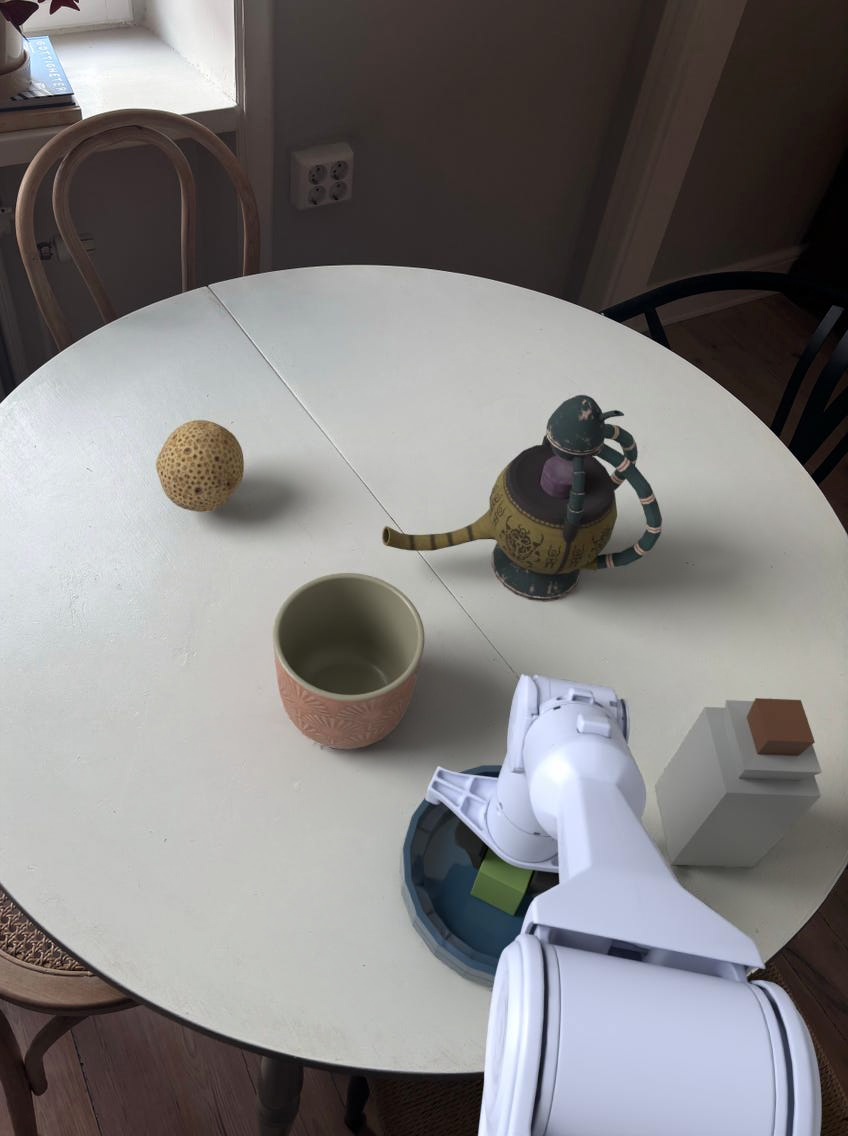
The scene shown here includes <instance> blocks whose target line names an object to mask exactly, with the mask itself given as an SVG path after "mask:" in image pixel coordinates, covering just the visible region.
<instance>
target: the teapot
mask: <svg viewBox="0 0 848 1136" xmlns="http://www.w3.org/2000/svg"><path fill="white" fill-rule="evenodd" d="M624 416H625V414H624V412H623V411H620V410H618V409H614V410H609V411H605V412H603V411H602V408H601V407H600V405H599V404H598V403H597V401H596V400H595V399H594V398H593V397H591V396H589V395H586V394H578V395H575V396H573V397H571V398H568V399H567V400H564V401H563V402H562V403H560V405H559V406H558V407H557V408H556V409H555V410H554V411H553V413H552V414H551V416H550V417H549V418H548V420H547V422H546V427H545V435H544V436H543V439H542V443H541V444H535V445H533V446H531V447H528V448H526V449H524V450H522V451H521V452H520V453H519V454H518V455H517V456H515V457H514V458H513V459H512V460H511V461H510V462H509V463H508V464H507V465H506V466H505V467H504V468H503V469H502V470H501V472H500V473H499V475H497V478H496V480H495V482H494V485H493V486H492V490H491V491H490V496H489V509H488V510H487V511H486V512H485V513H484V514H482V516H480V517H479V518H478V519H477V520H475V521H474V522H473V523H470V524H468V525H466V526H464V527H461V528H459V529H456V530H454V531H453V530H452V531H448V532H444V533H429V534H427V533H426V534H407V533H404V532H403V533H402V532H399V531H398V530H396V529H394V528H392V527H390V526H388V525H387V526H384V528H383V530H382V532H381V533H382V534H381V535H382V536H381V539H382V543H383V545H384V546H386V547H390V548H394V549H397V550H398V549H399V550H403V551H410V552H411V551H412V552H414V551H415V552H428V551H430V552H431V551H438V550H442V549H446V548H450V547H455V546H460V545H463V544H467V543H470V542H476V541H481V540H493V541H496V543H495V546H494V548H493V550H492V553H491V568H492V570H493V573H494V576H495V578H496V579H497V580H498V581H499V582H500V584H501V585H502V586H503V588H505V589H507V590H508V591H510V592H511V593H512V594H514V595H515V596H518V597H521V598H523V599H526V600H529V601H538V602H549V601H554V600H558V599H560V598H563V597H564V596H567V595H569V594H570V593H571V592H572V590H573V589H575V587H576V586H577V584H578V581H579V579H580V575H581V571H582V570H587V571H588V570H589V571H598V570H602V569H609V568H617V567H624V566H628V565H629V564H632V563H634V562H636V561H637V560H640V559H641V558H643V557H644V556H645V555H646V554H648V552H649V551H651V550H652V549H653V547H654V546H655V545H656V543H657V542H658V540H659V538H660V537H661V534H662V526H663V525H662V524H663V517H662V513H661V509H660V505H659V503H658V500H657V497H656V495H655V492H654V491H653V488H652V486H651V483H650V482H649V481H648V479H646V478H645V476H644V474H643V473H641V471H640V470H639V469H638V467H637V466H636V464H637V460H638V456H639V455H638V454H639V452H638V445H637V442H636V441H635V438H634V436H633V435H632V434H631V433H630V432H629V431H627V430H626V429H624V428H623V427H622V426H619V425H616V424H612V423H605V422H606V420H608V419H611V418H616V417H624ZM605 439H606V440H612V441H614V442H616V443H618V444H619V445H620V446H619V447H621V449H622V453H621V452H620V451H618V450H616V449H614V447H612V446H609V445H607V444H606V443H605ZM596 457H597V458H599V459H601V460H602V461H604V462H606V463H608V464H609V465H611V466H612V467H613V468H614V469H615V470H614V471H613V472H612V473H611V474H610V473H609V471H608V469H607V468H606V467H605V465H603V464H602V463H601V462H600V461H599V460H598V459H597V458H596ZM625 480H626V481H627V482H628V484H629V485H630V486H631V487H632V488H633V489H634V491H635V493H636V495H637V498H638V499H639V502H640V505H641V507H642V509H643V512H644V516H645V520H646V521H645V522H646V523H645V531H644V533H643V535H642V536H641V537H640V538H639V539H638V540H637V541H635V543H634V544H632V545H631V546H629V547H627V548H625V549H624V550H621V551H616V552H611V553H610V552H609V553H603V554H601V552H602V551H603V550H604V548H605V547H606V546H607V544H608V543H609V541H610V540H611V538H612V534H613V531H614V528H615V525H616V522H617V518H618V506H617V499H616V492H615V491H616V490H617V489H618V488H620V486H622V485H623V483H624V482H625Z"/></svg>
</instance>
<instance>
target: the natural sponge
mask: <svg viewBox="0 0 848 1136" xmlns="http://www.w3.org/2000/svg"><path fill="white" fill-rule="evenodd" d="M155 468H156V472H157V475H158V479H159V482H160V485H161V488H162V490H163V492H164V494H165V496H166V497H167V498H168V499H169V500H170V501H171V502H172V503H173V504H174V505H176V506H177V507H180V508H182V509H184V510H188V511H191V512H199V513H207V512H212V511H214V510H217V509H218V508H220V507H222V506H223V505H224V504H225V503H226V502H227V501H228V500H229V499H230V498H231V497H232V495H234V493H235V492H236V490H237V489H238V488H239V487H240V485H241V483H242V480H243V479H244V478H243V477H244V472H245V471H244V470H245V460H244V453H243V448H242V446H241V444H240V442H239V440H238V438H237V437H236V436H235V435H234V433H232V432H231V431H230V430H229V429H227V428H226V427H224V426H223V425H220V424H218V423H216V422H213V421H211V420H210V421H209V420H203V419H197V420H190V421H187V422H185V423H183V424H181V425H180V426H178V427H176V428H175V429H174V430H173V431H172V432H171V433H170V435H169V436H168V437H167V438H166V440H165V442H164V444H163V445H162V448H161V450H160V452H159V453H158V456H157V458H156V461H155Z"/></svg>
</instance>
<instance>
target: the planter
mask: <svg viewBox="0 0 848 1136" xmlns="http://www.w3.org/2000/svg"><path fill="white" fill-rule="evenodd" d="M422 620H423V619H422V618H421V616H420V613H419V611H418V609H417V608H416V606H415V604H414V603H413V602H412V601H411V599H410V598H409V597H408V596H406V594H404V593H403V591H401V590H400V589H399V588H397V587H396V586H394V585H392V584H391V583H389V582H387V581H385V580H383V579H381V578H378V577H376V576H372V575H368V574H363V573H355V572H339V573H332V574H331V573H330V574H327V575H322V576H320V577H316V578H314V579H312V580H310V581H308V582H306V583H305V584H302V586H300V587H298V588H297V589H296V590H295V591H293V592H292V593H291V594H290V595H289V596H288V597H287V599H286V600H285V601H284V602H283V604H281V607H280V608H279V610H278V612H277V614H276V617H275V620H274V624H273V631H272V643H273V652H274V662H275V663H274V664H275V671H276V672H275V673H276V678H277V685H278V691H279V695H280V698H281V702H282V706H283V709H284V710H285V712H286V714H287V716H288V718H289V719H290V721H291V722H292V723H293V725H294V727H296V729H297V730H298V731H300V732H301V734H303V735H304V736H305V737H307V738H308V739H310V740H311V741H313V742H315V743H317V744H320V745H322V746H325V747H328V748H332V749H338V750H352V749H353V750H354V749H359V748H363V747H366V746H367V747H368V746H369V745H372V744H375V743H377V742H378V741H380V740H382V739H383V738H385V737H386V736H388V735H389V734H390V733H391V732H392V731H393V730H394V729H395V728H396V727H397V725H398V724H399V723H400V721H401V720H402V719H403V717H404V716H405V713H406V711H407V709H408V707H409V705H410V702H411V699H412V696H413V694H414V691H415V687H416V682H417V680H418V675H419V671H420V665H421V662H422V657H423V654H424V649H425V643H426V642H425V641H426V639H425V638H426V637H425V629H424V623H423V621H422Z"/></svg>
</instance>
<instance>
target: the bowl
mask: <svg viewBox="0 0 848 1136" xmlns="http://www.w3.org/2000/svg"><path fill="white" fill-rule="evenodd" d="M502 766H503V764H502V765H497V764H495V765H494V764H482V765H478V766H475V767H472V768H469V769H464V770H461V771H459V772H458V773H462V774H470V775H478V776H486V777H494V778H498V777H499V774H500V771H501V769H502ZM425 798H426V796H425V797H424V798H423V799H422V801H421V802H420V804H419V805H418V806H417V808H416V809H415V811H414V812H413V814H412V815H411V817H410V821H409V824H408V828H407V832H406V835H405V838H404V842H403V846H402V849H401V855H400V861H399V866H400V867H399V869H400V870H399V871H400V893H401V897H402V900H403V903H404V905H405V908H406V911H407V913H408V917H409V920H410V923H411V925H412V927H413V929H414V930H415V932H416V933H417V934H418V936H419V937H420V938H421V940H422V941H423V943H424V944H425V945H426V947H427V948H428V949H429V951H430V952H431V954H432V955H433V956H434V957H435V958H436V959H438V960H439V962H441V963H442V964H444V965H446V966H447V967H448V968H450V970H452V971H453V972H454V973H456V974H457V975H458V976H460V977H461V978H463V979H465V980H468V981H471V982H473V983H476V984H479V985H482V986H484V987H487V988H492V989H493V986H494V980H495V975H496V971H497V967H498V963H499V959H500V956H501V954H502V952H503V950H504V949H505V948H506V947H507V946H508V945H510V944H511V943H512V942H514V940H515V939H516V937H517V936H518V935H520V933H521V930H522V926H523V922H524V919H525V916H526V913H527V911H528V908H529V906H530V904H531V902H532V901H533V900H534V898H535V897H537V896H538V895H540V894H542V893H544V892H539V893H536V894H534V895H531V896H529V895H527V894H524V896H523V898H522V900H521V902H520V904H519V906H518V908H517V910H516V912H515V914H514V916H513V915H511V914H509V913H507V912H505V911H503V910H501V909H499V908H497V907H495V906H493V905H491V904H489V903H487V902H485V901H483V900H481V899H479V898H477V897H475V896H473V895H471V891H472V888H473V886H474V883H475V880H476V878H477V875H478V872H479V870H477V869H475V868H473V866H472V862H471V859H470V857H469V855H468V854H467V852H466V851H465V850H464V849H463V848H461V847H459V846H457V845H456V844H455V843H454V832H455V829H456V827H457V824H458V822H459V819H460V818H459V817H458V816H457V815H456V814H455V813H454V812H453V811H452V810H451V809H450V808H449V807H447V806H446V805H445V804H444V803H443V802H440V804H438V805H435V804H433V803H431V802H429V801H427V800H425Z"/></svg>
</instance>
